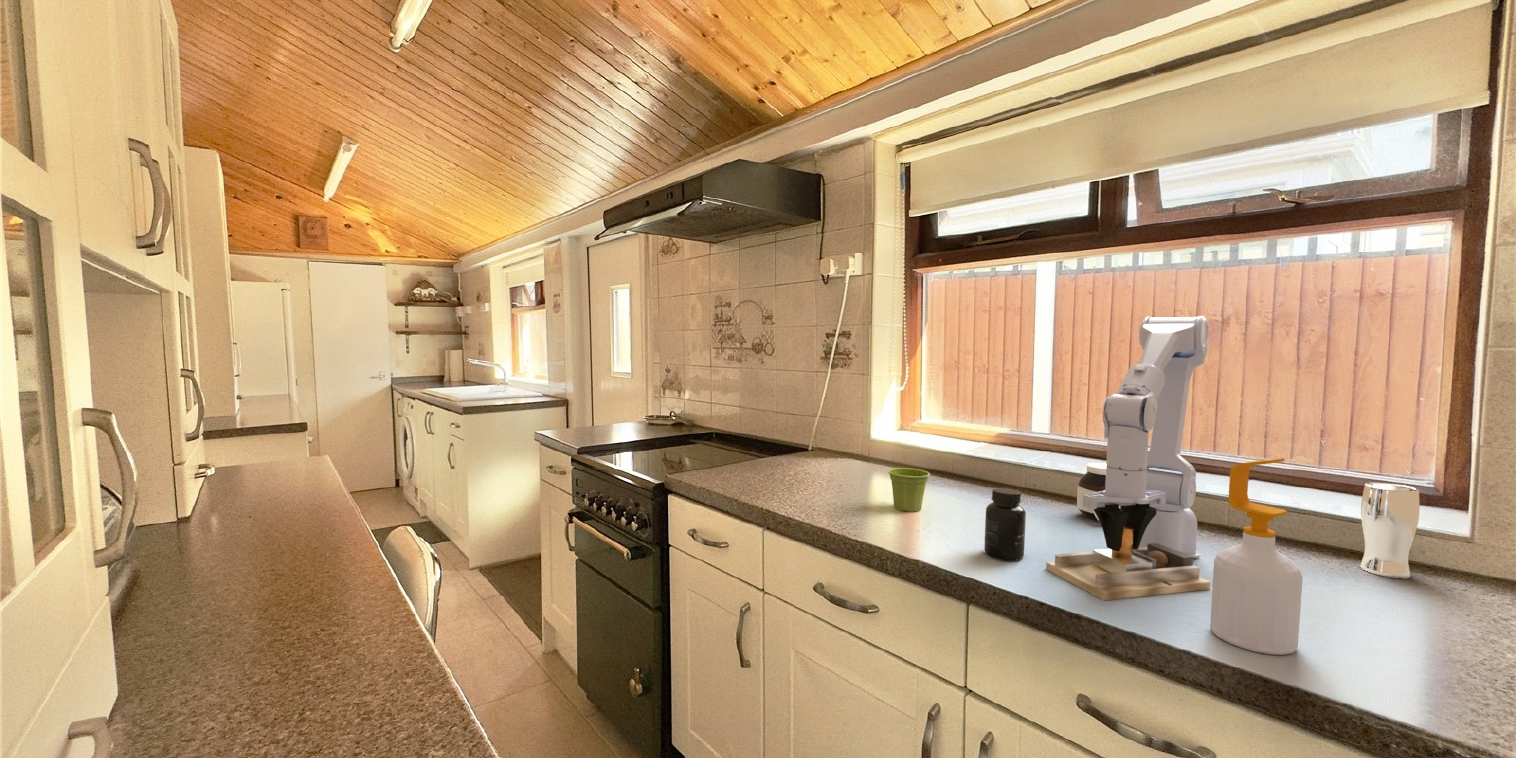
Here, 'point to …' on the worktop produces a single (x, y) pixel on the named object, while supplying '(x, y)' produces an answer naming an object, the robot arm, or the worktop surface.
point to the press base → (1132, 574)
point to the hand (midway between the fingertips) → (1122, 548)
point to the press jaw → (1123, 556)
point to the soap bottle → (1255, 580)
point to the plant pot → (908, 488)
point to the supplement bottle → (1005, 526)
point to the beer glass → (1388, 527)
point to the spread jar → (1091, 486)
